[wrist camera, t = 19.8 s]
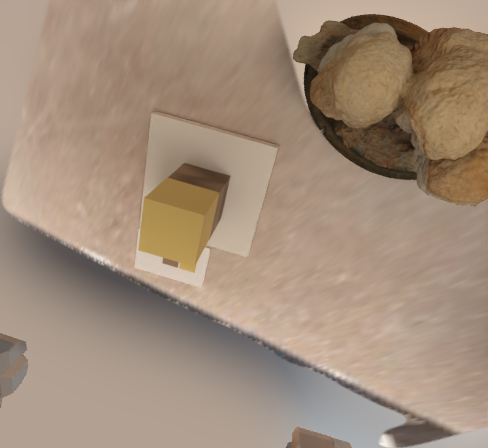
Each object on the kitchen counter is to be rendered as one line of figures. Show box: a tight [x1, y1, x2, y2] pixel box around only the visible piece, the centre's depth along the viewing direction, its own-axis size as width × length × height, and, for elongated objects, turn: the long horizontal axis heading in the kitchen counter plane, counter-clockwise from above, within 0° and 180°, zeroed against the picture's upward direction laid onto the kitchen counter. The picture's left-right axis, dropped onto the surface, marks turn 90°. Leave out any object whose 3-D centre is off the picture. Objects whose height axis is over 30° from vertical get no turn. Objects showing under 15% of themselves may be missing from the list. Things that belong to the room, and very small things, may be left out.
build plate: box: [139, 111, 279, 257], centre depth 39 cm, size 13×13×1 cm
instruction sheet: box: [135, 227, 211, 288], centre depth 44 cm, size 9×6×1 cm, turn 77°
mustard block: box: [138, 178, 219, 267], centre depth 31 cm, size 5×5×5 cm
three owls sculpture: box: [293, 14, 488, 206], centre depth 25 cm, size 18×12×17 cm, turn 58°
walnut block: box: [168, 163, 231, 240], centre depth 36 cm, size 5×5×5 cm
